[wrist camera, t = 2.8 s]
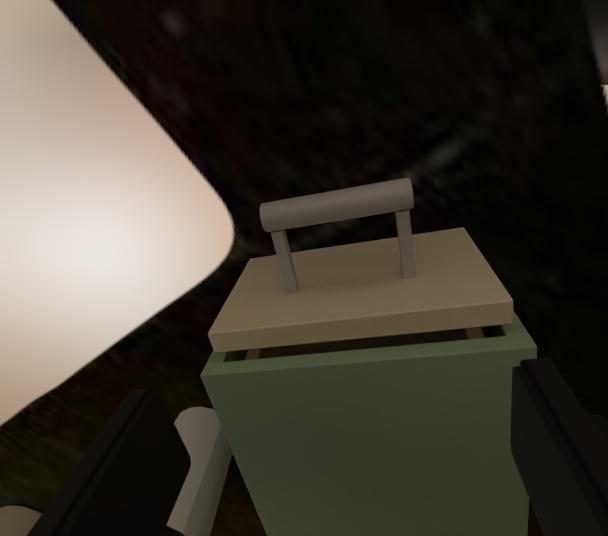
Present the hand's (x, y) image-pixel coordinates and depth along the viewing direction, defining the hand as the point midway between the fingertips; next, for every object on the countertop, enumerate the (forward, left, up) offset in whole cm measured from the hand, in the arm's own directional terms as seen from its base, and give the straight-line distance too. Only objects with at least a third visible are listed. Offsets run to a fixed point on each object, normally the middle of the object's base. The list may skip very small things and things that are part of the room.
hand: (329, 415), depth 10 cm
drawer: (0, +7, -15) cm, 17 cm away
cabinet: (0, +11, -16) cm, 20 cm away
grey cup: (+16, +18, -16) cm, 29 cm away
